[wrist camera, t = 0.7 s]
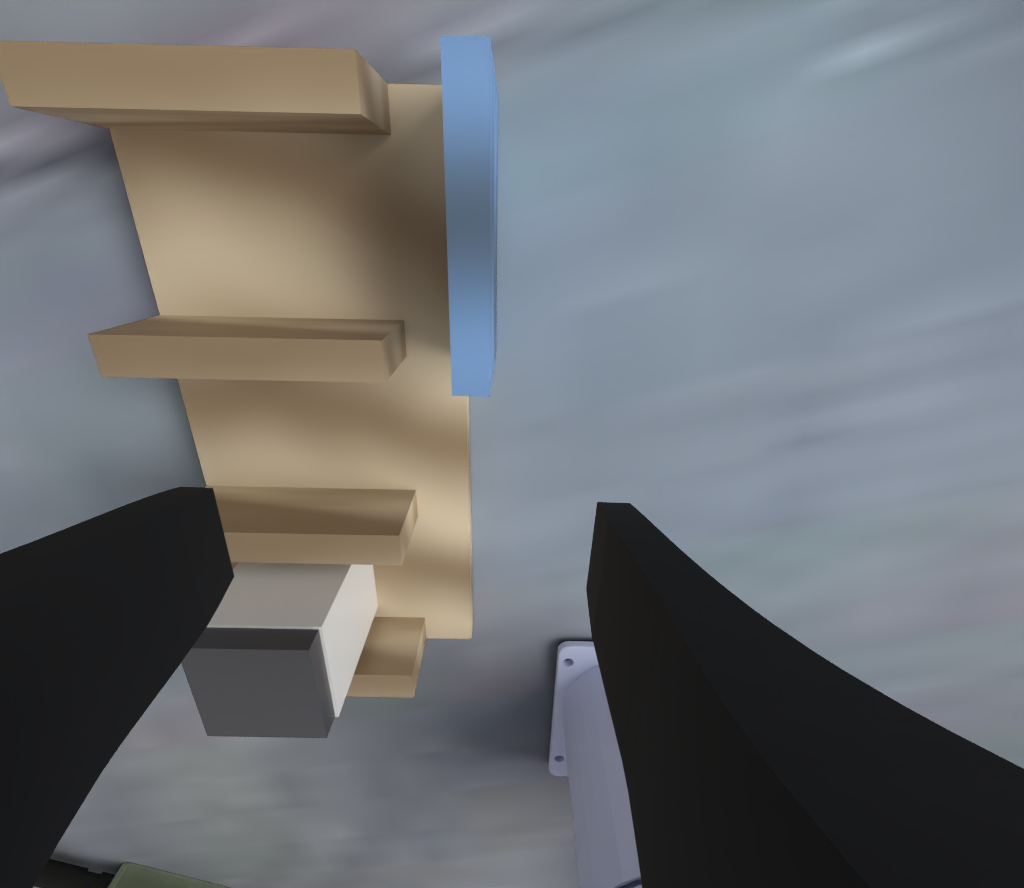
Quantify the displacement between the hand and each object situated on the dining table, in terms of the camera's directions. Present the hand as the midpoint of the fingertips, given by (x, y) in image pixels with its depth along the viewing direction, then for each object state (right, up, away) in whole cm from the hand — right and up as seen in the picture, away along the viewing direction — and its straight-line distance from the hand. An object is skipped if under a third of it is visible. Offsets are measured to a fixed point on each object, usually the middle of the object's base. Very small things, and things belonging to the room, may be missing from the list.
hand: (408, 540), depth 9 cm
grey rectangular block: (-6, -3, +11) cm, 13 cm away
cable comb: (-4, +3, +9) cm, 11 cm away
